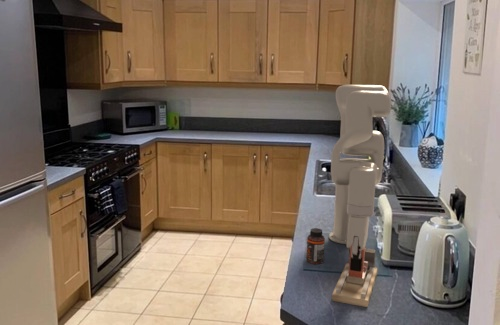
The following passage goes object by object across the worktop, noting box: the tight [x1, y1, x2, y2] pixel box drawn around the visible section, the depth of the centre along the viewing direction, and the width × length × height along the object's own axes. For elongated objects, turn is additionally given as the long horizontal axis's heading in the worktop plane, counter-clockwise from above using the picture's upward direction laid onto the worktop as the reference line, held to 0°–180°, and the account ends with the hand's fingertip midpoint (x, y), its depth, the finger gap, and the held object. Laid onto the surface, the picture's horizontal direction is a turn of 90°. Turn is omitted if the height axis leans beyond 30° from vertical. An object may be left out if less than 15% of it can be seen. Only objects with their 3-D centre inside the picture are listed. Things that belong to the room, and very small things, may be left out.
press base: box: [331, 247, 378, 308], centre depth 148 cm, size 24×10×8 cm, turn 160°
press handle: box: [347, 243, 368, 285], centre depth 148 cm, size 8×5×12 cm, turn 160°
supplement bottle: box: [305, 227, 326, 265], centre depth 166 cm, size 6×6×11 cm
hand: (356, 267), depth 147 cm, fingers closed on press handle, 3 cm apart
